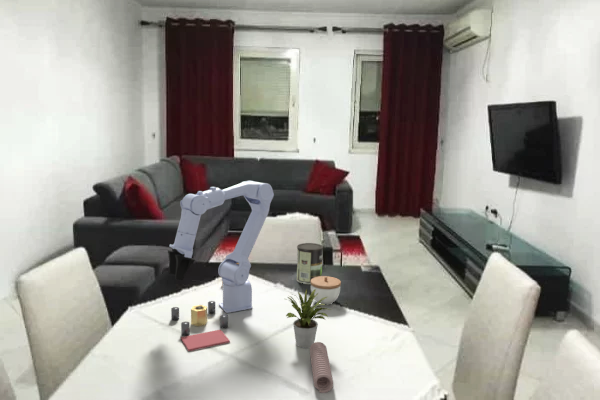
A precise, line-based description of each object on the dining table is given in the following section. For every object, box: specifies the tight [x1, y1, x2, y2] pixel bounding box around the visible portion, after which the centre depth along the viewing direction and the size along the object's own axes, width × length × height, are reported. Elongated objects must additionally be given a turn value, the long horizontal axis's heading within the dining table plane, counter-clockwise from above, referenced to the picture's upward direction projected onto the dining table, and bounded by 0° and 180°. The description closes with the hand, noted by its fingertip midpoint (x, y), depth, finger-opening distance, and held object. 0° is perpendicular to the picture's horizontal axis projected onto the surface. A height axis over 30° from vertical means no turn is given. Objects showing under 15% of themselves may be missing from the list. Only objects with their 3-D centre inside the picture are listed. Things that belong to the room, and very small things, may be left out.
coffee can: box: [296, 242, 324, 285], centre depth 190 cm, size 10×10×14 cm
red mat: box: [180, 328, 231, 352], centre depth 138 cm, size 12×8×1 cm, turn 119°
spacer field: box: [170, 300, 229, 337], centre depth 149 cm, size 14×14×4 cm
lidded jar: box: [310, 275, 342, 305], centre depth 168 cm, size 11×11×9 cm
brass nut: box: [190, 304, 208, 327], centre depth 149 cm, size 5×4×5 cm
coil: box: [309, 341, 334, 394], centre depth 122 cm, size 5×5×18 cm
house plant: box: [285, 288, 332, 349], centre depth 135 cm, size 14×14×16 cm
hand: (175, 276), depth 144 cm, fingers open, 7 cm apart
